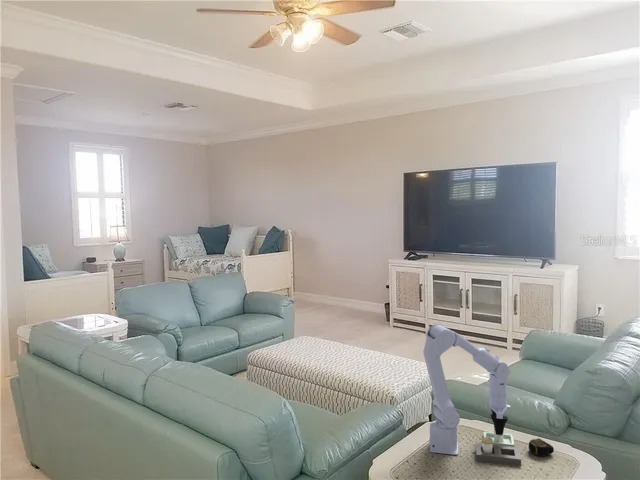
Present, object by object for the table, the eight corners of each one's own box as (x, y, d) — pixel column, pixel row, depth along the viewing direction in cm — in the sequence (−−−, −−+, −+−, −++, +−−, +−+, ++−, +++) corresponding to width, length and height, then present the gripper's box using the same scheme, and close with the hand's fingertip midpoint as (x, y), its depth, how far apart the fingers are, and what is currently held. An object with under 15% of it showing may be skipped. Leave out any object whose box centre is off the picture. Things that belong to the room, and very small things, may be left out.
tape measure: (554, 456, 164) (554, 445, 164) (538, 459, 162) (538, 449, 162) (540, 446, 171) (540, 436, 170) (524, 450, 169) (524, 439, 168)
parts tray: (484, 446, 172) (484, 441, 172) (483, 435, 180) (483, 431, 180) (514, 449, 169) (514, 444, 169) (512, 438, 177) (512, 434, 177)
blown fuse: (494, 442, 173) (494, 426, 173) (493, 438, 177) (493, 422, 176) (504, 443, 172) (503, 427, 172) (503, 439, 176) (503, 423, 175)
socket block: (476, 460, 162) (476, 454, 162) (475, 449, 170) (475, 443, 170) (521, 465, 158) (521, 459, 158) (518, 453, 166) (518, 447, 166)
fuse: (482, 458, 164) (482, 441, 164) (482, 453, 167) (482, 436, 167) (492, 459, 163) (492, 442, 163) (492, 454, 166) (492, 437, 166)
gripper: (511, 401, 165) (512, 440, 166) (508, 386, 179) (508, 422, 180) (490, 400, 167) (490, 438, 168) (488, 385, 181) (488, 420, 182)
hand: (498, 429), depth 174 cm, fingers open, 7 cm apart
